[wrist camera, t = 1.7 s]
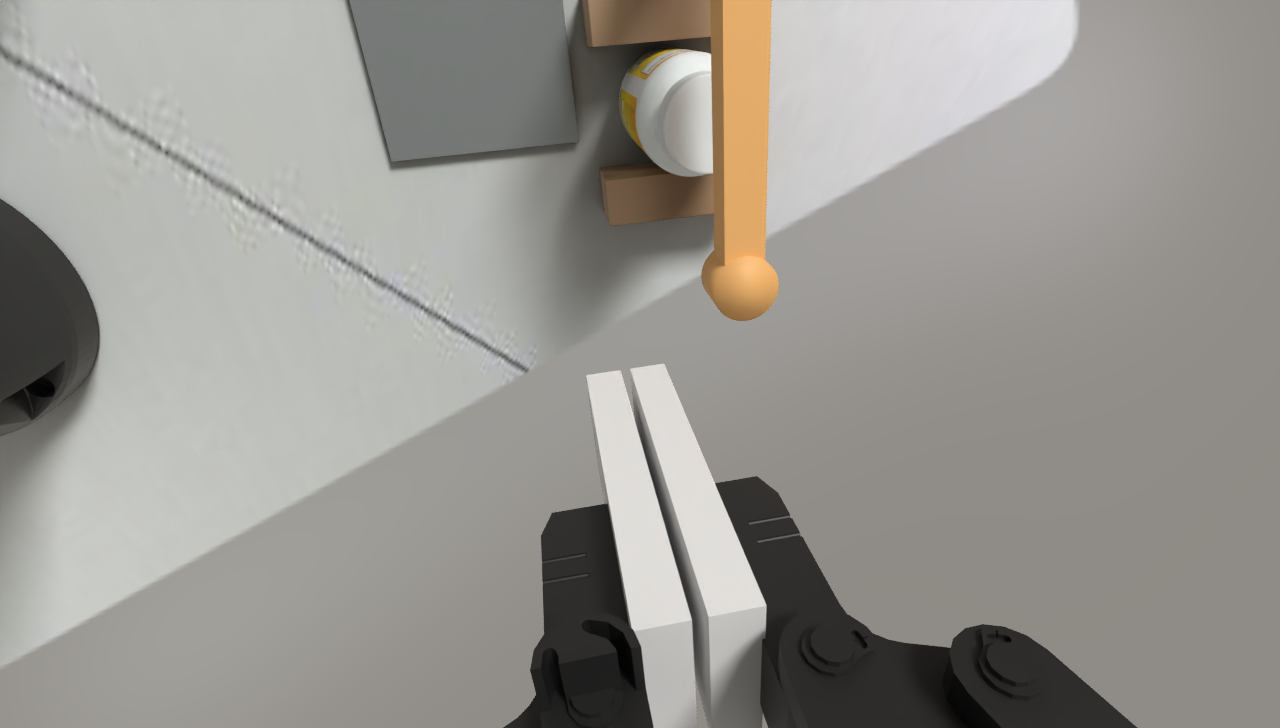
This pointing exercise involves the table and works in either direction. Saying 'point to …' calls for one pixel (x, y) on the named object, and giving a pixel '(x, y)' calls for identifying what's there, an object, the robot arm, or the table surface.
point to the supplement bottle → (671, 109)
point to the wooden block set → (636, 13)
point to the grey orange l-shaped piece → (740, 159)
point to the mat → (467, 74)
